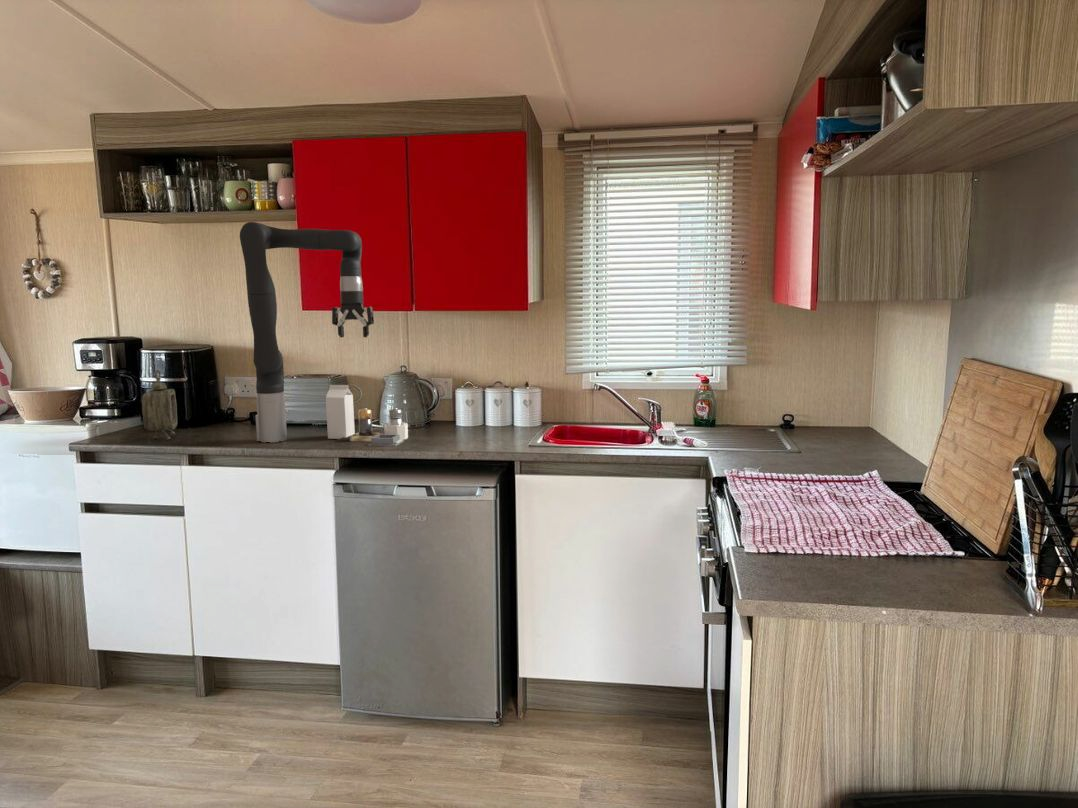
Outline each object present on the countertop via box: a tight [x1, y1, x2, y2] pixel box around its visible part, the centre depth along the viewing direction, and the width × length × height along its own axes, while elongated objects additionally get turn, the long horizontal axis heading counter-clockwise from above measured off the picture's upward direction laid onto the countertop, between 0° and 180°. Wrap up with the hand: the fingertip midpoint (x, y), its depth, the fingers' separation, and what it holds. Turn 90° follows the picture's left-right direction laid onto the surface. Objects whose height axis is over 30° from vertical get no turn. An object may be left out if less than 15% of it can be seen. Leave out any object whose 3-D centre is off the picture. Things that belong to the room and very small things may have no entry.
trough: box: [349, 432, 383, 442], centre depth 272 cm, size 9×7×2 cm
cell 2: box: [388, 407, 403, 426], centre depth 273 cm, size 4×4×11 cm
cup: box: [383, 421, 409, 441], centre depth 274 cm, size 7×7×6 cm
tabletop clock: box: [141, 369, 178, 440], centre depth 282 cm, size 14×9×25 cm, turn 16°
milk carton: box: [325, 384, 356, 440], centre depth 280 cm, size 7×7×19 cm
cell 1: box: [358, 407, 373, 436], centre depth 272 cm, size 4×4×11 cm
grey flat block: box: [366, 433, 405, 447], centre depth 265 cm, size 10×9×3 cm
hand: (353, 337), depth 271 cm, fingers open, 8 cm apart
